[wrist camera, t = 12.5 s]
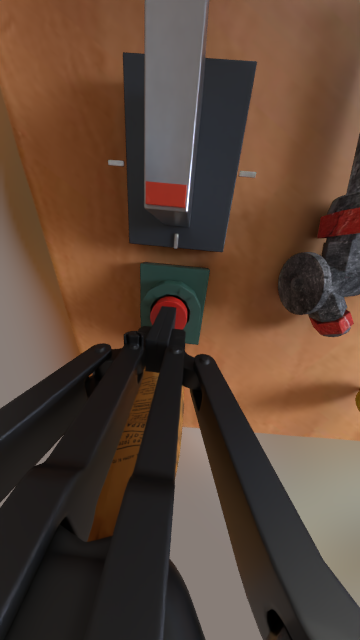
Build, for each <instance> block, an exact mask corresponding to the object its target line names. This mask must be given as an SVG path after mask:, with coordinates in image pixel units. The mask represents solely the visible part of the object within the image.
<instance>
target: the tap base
mask: <svg viewBox="0 0 360 640" xmlns="http://www.w3.org/2000/svg"><path fill="white" fill-rule="evenodd" d="M256 65H257V62H256V61H241V60H227V59H212V58H205V69H204V83H203V97H202V107H201V117H200V127H199V137H198V147H197V157H196V167H195V177H194V187H193V197H192V206H191V216H190V226H189V227H181V226H171V225H165V224H164V223H162V222H161V221H160V220H159V219H157V218H156V217H155V216H154V215H152V214H151V213H150V212H149V211H147V210H146V209H145V208H144V83H145V54H139V53H125V52H123V72H124V100H125V129H126V158H127V187H128V216H129V243H132V244H142V245H153V246H163V247H173V248H174V249H177V248H184V249H194V250H204V251H215V252H223V249H224V243H225V237H226V232H227V226H228V221H229V215H230V210H231V204H232V199H233V193H234V187H235V182H236V176H237V171H238V165H239V160H240V154H241V149H242V143H243V137H244V132H245V126H246V121H247V115H248V110H249V104H250V99H251V93H252V87H253V82H254V76H255V71H256ZM108 164H109V166H121V167H124V161H118V160H108ZM255 176H256V172H248V171H240V173H239V177H250V178H255Z"/></svg>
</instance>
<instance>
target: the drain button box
mask: <svg viewBox="0 0 360 640" xmlns="http://www.w3.org/2000/svg"><path fill="white" fill-rule="evenodd" d="M209 272H210V270H209V269H208V268H201V267H191V266H181V265H171V264H160V263H150V262H144V263H141V264H140V286H141V303H140V312H141V327H142V326H151V327H152V323H151V320H150V314H151V310H152V309H153V307H154V305H155V304H156V302H157V301H158V300H160V299H161V298H163V297H168V296H171V297H176V298H178V299H180V300H181V301H182V302H183V303H184V304H185V306H186V308H187V323H186V325H185V327H184V328H183V329H182V330H184V331H185V332H186V338H185V343H187V344H196V345H198V343H199V336H200V330H201V324H202V317H203V311H204V304H205V298H206V292H207V285H208V279H209Z"/></svg>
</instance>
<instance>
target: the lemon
mask: <svg viewBox="0 0 360 640" xmlns="http://www.w3.org/2000/svg"><path fill="white" fill-rule="evenodd" d="M355 401H356V406H357V408H358V410H359V411H360V389H359V392H358V393H357V395H356V398H355Z"/></svg>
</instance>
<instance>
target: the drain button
mask: <svg viewBox="0 0 360 640" xmlns="http://www.w3.org/2000/svg"><path fill="white" fill-rule="evenodd" d="M162 306H167V307H176V320H175V329H183V328H184V327H185V325H186V323H187V308H186V306H185V304H184V303H183V302H182V301H181V300H180V299H178V298H176V297H171V296H168V297H163V298H161V299H160V300H158V301H157V302H156V304H155V305H154V307H153V309H152V310H151V314H150V320H151V323H152V325H153V323H154V321H155V319H156V317H157V315H158V313H159V311H160V309H161V307H162Z"/></svg>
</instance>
